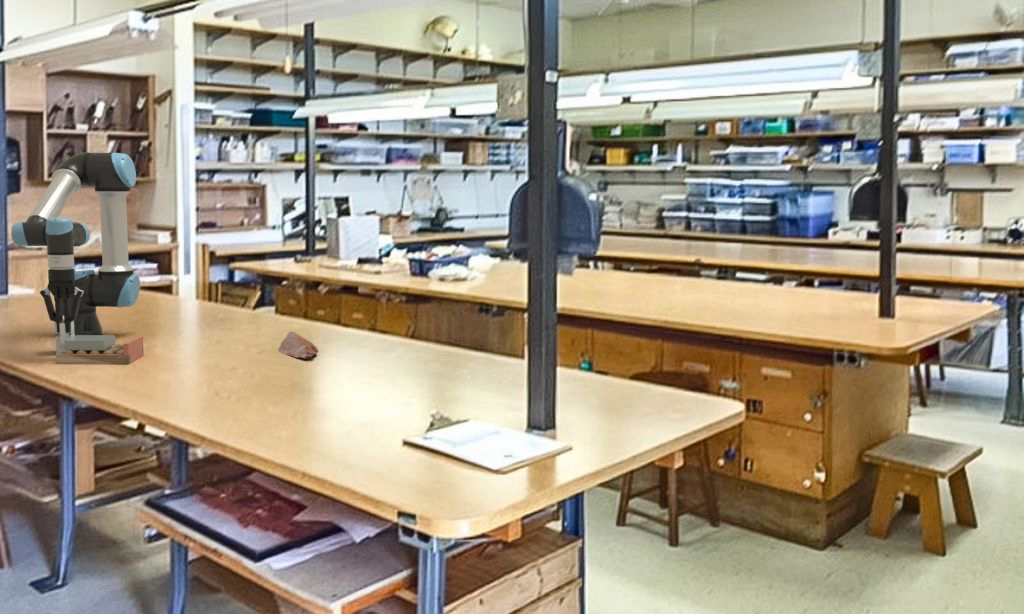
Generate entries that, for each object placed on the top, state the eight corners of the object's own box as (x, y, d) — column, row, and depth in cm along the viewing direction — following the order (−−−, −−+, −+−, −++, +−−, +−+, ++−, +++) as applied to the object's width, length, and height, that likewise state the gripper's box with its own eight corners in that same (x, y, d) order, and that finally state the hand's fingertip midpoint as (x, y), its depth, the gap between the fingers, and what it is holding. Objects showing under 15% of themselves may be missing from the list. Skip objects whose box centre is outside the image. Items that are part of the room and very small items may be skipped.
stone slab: (77, 344, 317) (76, 335, 317) (115, 344, 318) (115, 335, 317) (64, 350, 307) (64, 340, 307) (104, 350, 308) (104, 340, 307)
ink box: (59, 350, 326) (57, 315, 325) (75, 350, 328) (74, 314, 326) (55, 355, 318) (54, 319, 317) (72, 355, 320) (71, 318, 318)
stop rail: (138, 355, 320) (137, 335, 320) (143, 355, 321) (143, 336, 320) (123, 364, 306) (123, 343, 306) (129, 364, 307) (128, 343, 306)
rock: (295, 358, 314) (316, 335, 316) (272, 347, 334) (292, 325, 337) (317, 379, 318) (338, 355, 321) (293, 367, 339) (312, 345, 341)
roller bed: (73, 355, 319) (73, 343, 319) (143, 355, 321) (143, 343, 320) (56, 363, 305) (55, 351, 305) (129, 364, 307) (128, 351, 306)
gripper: (34, 269, 304) (38, 345, 308) (77, 269, 305) (81, 345, 308) (44, 266, 312) (48, 341, 315) (87, 267, 312) (90, 341, 316)
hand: (64, 343), depth 312 cm, fingers closed
